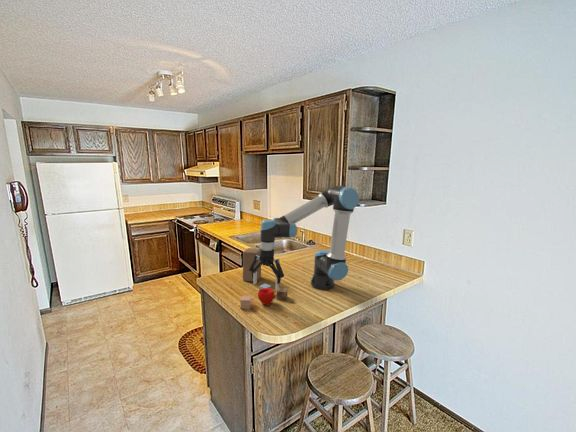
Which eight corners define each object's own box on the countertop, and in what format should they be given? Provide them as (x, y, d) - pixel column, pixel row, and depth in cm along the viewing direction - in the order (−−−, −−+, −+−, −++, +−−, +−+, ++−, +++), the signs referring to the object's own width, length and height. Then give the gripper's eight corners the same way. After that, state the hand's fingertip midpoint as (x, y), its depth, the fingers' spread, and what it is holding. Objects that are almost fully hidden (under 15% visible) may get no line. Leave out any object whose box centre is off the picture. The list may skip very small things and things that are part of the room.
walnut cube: (287, 296, 160) (287, 288, 159) (285, 300, 155) (285, 292, 154) (278, 295, 161) (279, 287, 160) (276, 299, 156) (276, 291, 156)
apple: (255, 305, 149) (255, 291, 147) (262, 298, 157) (262, 285, 155) (270, 308, 146) (270, 295, 144) (276, 301, 154) (277, 288, 152)
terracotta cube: (251, 304, 150) (251, 295, 149) (250, 309, 145) (250, 300, 144) (241, 304, 149) (241, 295, 149) (240, 308, 145) (240, 300, 144)
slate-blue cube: (271, 293, 163) (271, 285, 162) (265, 296, 159) (265, 288, 158) (264, 291, 166) (265, 283, 165) (259, 293, 162) (259, 286, 161)
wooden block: (256, 282, 177) (257, 253, 174) (242, 281, 179) (242, 251, 176) (261, 276, 187) (261, 248, 183) (247, 275, 189) (247, 247, 185)
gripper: (291, 250, 144) (289, 288, 148) (250, 243, 154) (249, 279, 158) (285, 254, 137) (283, 294, 141) (243, 246, 147) (242, 283, 151)
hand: (265, 286), depth 149 cm, fingers open, 13 cm apart
